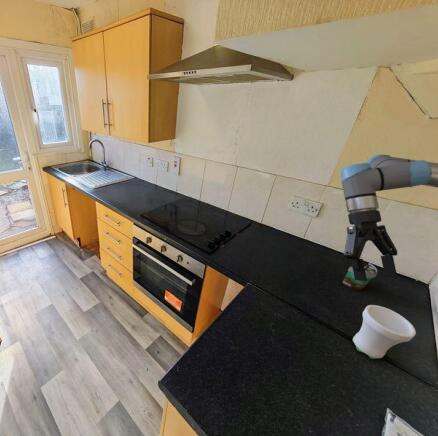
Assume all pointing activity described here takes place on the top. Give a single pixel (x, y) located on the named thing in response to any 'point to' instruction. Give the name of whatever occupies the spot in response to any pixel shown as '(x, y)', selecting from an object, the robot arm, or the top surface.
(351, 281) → the food container
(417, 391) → the top surface
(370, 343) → the cup
